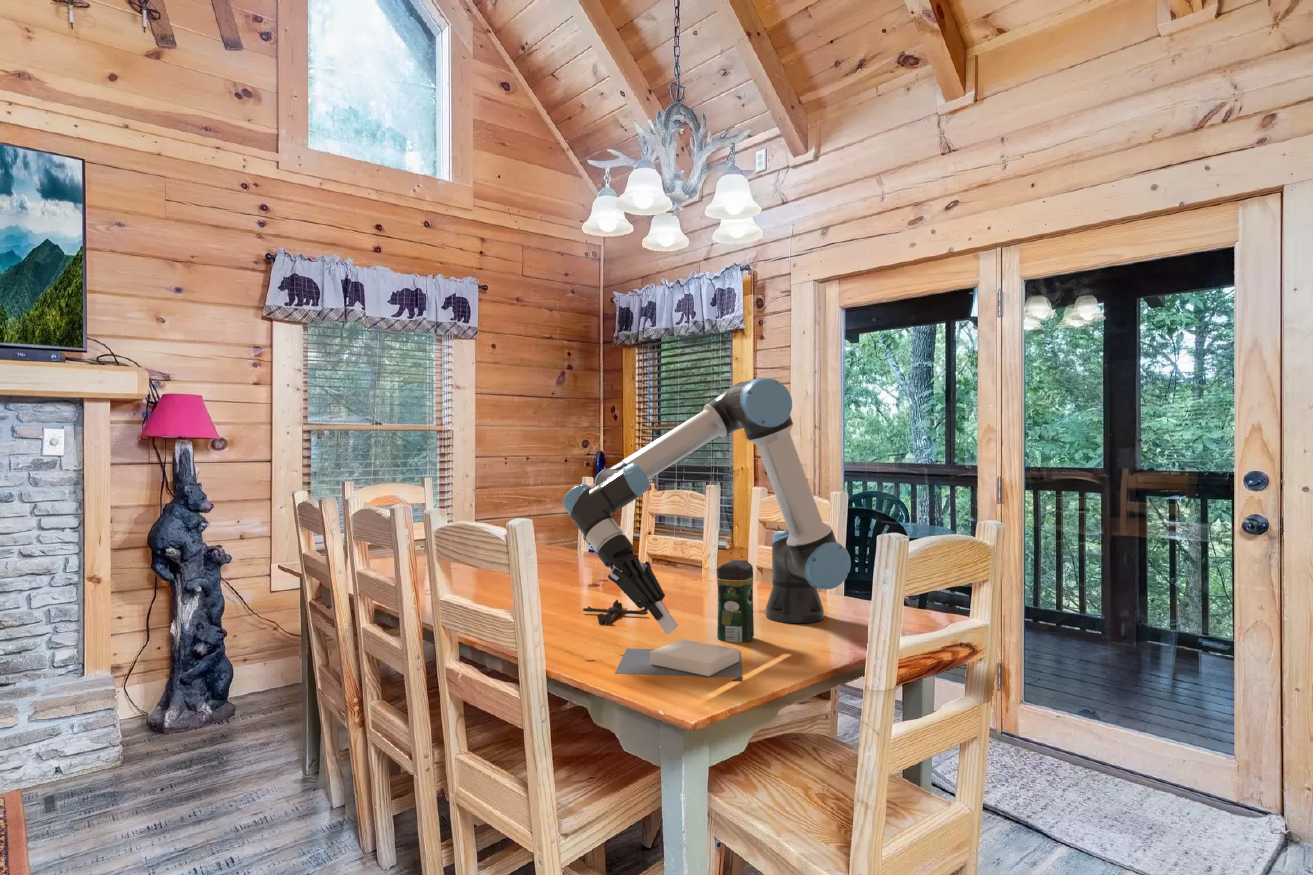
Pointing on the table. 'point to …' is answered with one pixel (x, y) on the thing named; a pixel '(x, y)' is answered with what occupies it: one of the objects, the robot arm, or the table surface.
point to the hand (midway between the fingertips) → (672, 629)
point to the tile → (694, 657)
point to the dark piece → (612, 612)
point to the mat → (640, 664)
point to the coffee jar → (735, 601)
